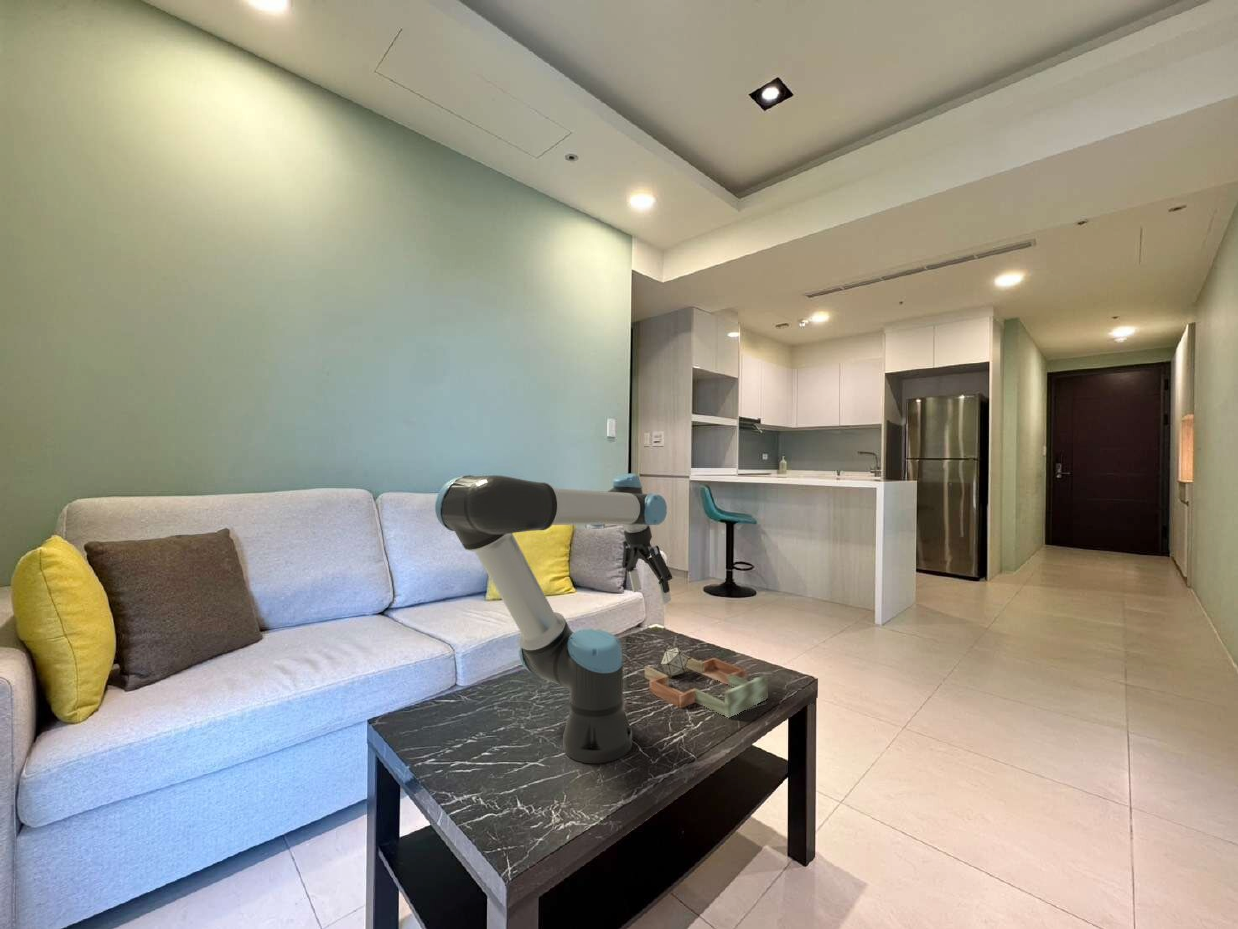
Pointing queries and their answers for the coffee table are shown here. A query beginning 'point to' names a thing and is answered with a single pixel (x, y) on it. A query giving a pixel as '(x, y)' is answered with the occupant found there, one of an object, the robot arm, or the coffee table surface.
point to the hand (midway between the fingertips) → (651, 596)
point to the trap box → (735, 698)
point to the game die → (674, 661)
